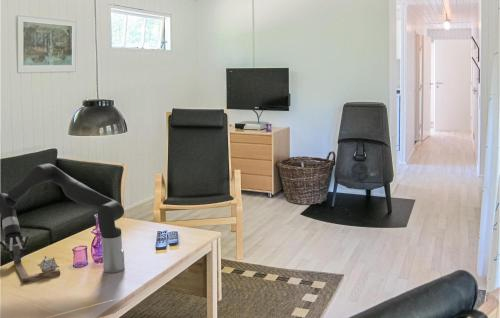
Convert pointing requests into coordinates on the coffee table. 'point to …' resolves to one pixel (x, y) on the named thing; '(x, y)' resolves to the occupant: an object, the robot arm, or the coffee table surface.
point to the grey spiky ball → (48, 264)
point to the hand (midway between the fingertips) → (17, 257)
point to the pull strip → (23, 272)
